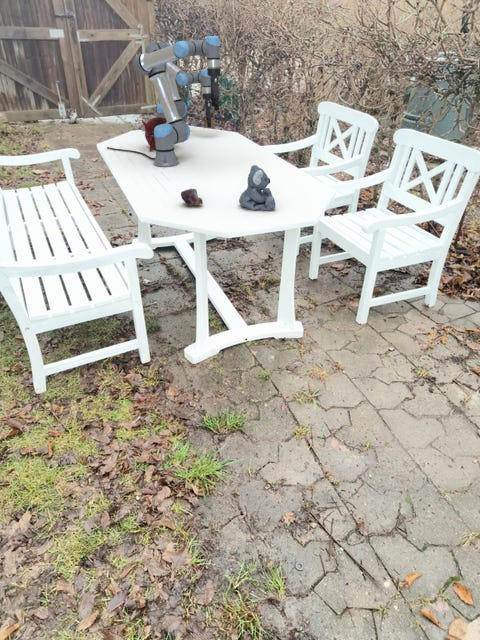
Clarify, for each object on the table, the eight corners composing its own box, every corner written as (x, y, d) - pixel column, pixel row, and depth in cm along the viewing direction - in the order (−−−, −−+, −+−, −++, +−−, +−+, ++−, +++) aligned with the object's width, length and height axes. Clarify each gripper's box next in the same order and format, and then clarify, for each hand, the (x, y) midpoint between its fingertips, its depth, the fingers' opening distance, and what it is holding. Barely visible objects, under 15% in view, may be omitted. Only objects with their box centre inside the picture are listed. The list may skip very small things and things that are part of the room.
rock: (196, 202, 238) (178, 205, 233) (194, 185, 234) (176, 188, 230) (205, 205, 228) (187, 208, 224) (203, 188, 224) (185, 191, 220)
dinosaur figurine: (200, 128, 346) (199, 115, 341) (199, 127, 351) (199, 114, 345) (218, 127, 348) (217, 114, 342) (217, 126, 353) (216, 113, 347)
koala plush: (276, 211, 223) (277, 171, 212) (240, 212, 222) (240, 172, 211) (271, 199, 237) (272, 161, 226) (237, 200, 236) (237, 162, 225)
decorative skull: (144, 123, 333) (138, 119, 309) (175, 116, 332) (171, 112, 308) (152, 153, 340) (146, 152, 316) (182, 146, 339) (179, 144, 315)
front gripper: (223, 69, 248) (224, 111, 260) (217, 65, 268) (218, 104, 280) (209, 70, 247) (211, 112, 259) (204, 65, 267) (206, 104, 279)
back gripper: (214, 94, 329) (215, 128, 342) (210, 91, 343) (212, 123, 357) (203, 94, 328) (205, 128, 341) (201, 91, 342) (202, 124, 355)
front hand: (215, 108), depth 269 cm, fingers open, 13 cm apart
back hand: (208, 126), depth 349 cm, fingers closed on dinosaur figurine, 5 cm apart
